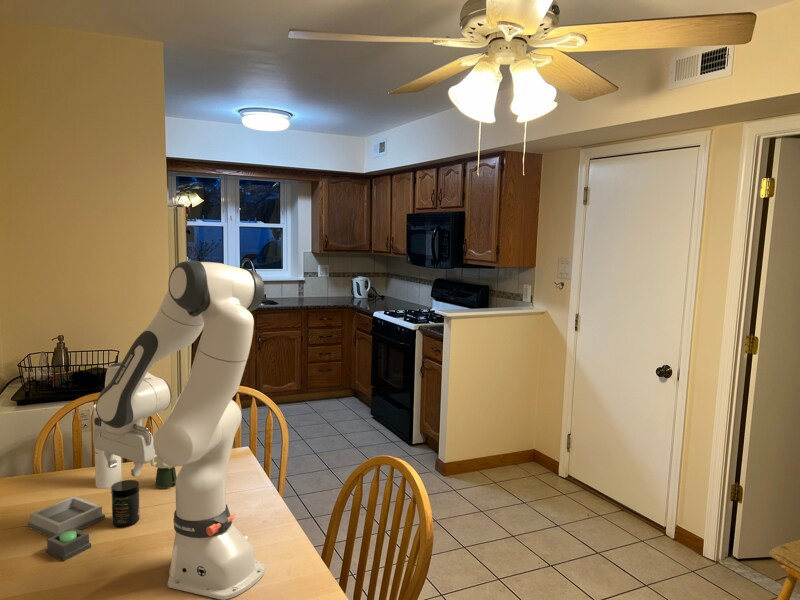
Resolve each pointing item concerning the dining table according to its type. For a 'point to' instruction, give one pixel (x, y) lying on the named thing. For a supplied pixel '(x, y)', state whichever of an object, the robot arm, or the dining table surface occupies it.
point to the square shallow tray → (65, 516)
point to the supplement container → (125, 503)
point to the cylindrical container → (106, 468)
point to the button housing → (67, 545)
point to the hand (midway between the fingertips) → (123, 471)
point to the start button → (68, 536)
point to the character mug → (164, 473)
